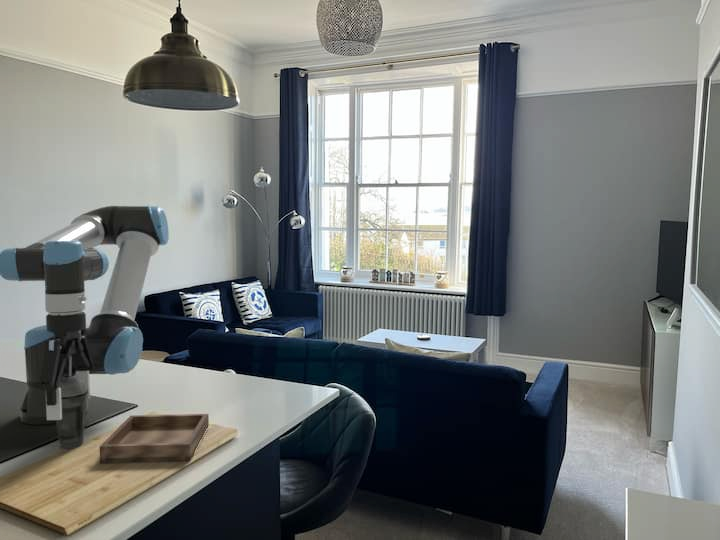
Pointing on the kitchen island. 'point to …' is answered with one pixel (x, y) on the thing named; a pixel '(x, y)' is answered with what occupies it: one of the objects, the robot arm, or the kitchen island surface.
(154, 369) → the kitchen island surface
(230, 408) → the kitchen island surface
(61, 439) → the beverage cup
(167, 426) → the serving tray
